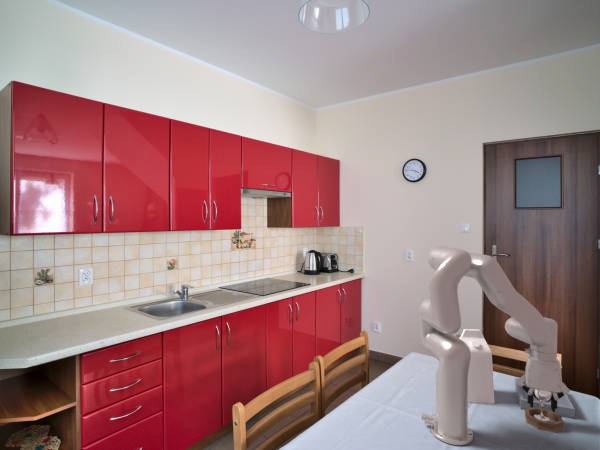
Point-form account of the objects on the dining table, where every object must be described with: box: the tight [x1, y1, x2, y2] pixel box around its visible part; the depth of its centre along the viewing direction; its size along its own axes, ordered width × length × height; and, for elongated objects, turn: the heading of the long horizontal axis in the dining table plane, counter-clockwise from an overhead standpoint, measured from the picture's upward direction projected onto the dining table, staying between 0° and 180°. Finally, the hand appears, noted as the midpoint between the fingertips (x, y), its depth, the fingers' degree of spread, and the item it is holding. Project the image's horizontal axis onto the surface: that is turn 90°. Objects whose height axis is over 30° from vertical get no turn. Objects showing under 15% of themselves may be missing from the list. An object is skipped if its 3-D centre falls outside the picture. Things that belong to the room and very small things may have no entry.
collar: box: [524, 407, 565, 433], centre depth 124 cm, size 10×10×2 cm
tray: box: [514, 377, 575, 420], centre depth 138 cm, size 16×20×4 cm
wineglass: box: [533, 389, 553, 422], centre depth 124 cm, size 6×6×12 cm
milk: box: [458, 328, 495, 405], centre depth 143 cm, size 12×12×26 cm
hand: (541, 407), depth 124 cm, fingers closed on wineglass, 5 cm apart
